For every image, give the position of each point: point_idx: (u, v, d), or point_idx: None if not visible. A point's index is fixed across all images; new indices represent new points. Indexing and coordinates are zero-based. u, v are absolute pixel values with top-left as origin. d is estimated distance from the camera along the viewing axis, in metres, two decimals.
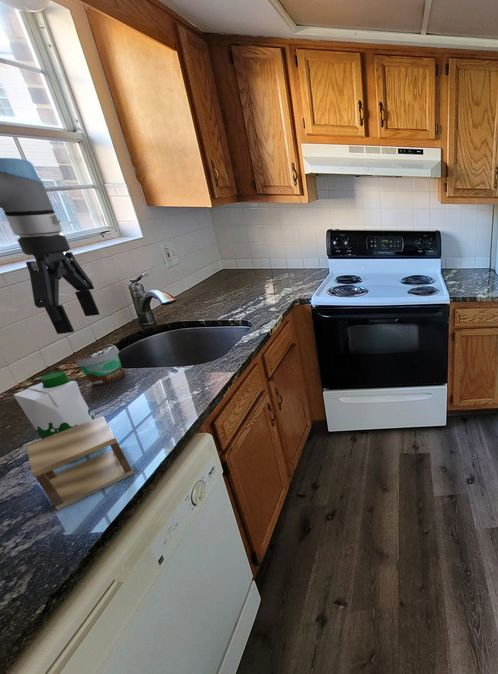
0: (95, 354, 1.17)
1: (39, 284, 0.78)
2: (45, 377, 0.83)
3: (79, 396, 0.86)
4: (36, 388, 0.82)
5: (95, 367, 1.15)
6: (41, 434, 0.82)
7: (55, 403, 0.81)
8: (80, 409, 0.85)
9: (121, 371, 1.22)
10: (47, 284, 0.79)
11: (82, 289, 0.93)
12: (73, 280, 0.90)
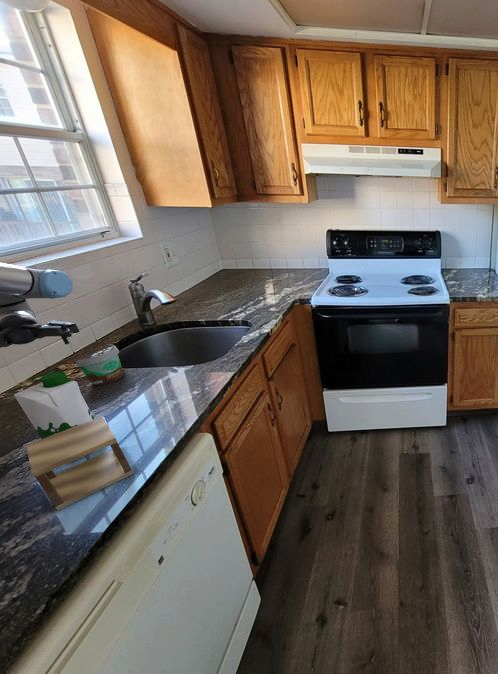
0: (95, 354, 1.17)
1: None
2: (45, 377, 0.83)
3: (79, 396, 0.86)
4: (36, 388, 0.82)
5: (95, 367, 1.15)
6: (41, 434, 0.82)
7: (56, 403, 0.81)
8: (80, 409, 0.85)
9: (121, 371, 1.22)
10: None
11: None
12: None
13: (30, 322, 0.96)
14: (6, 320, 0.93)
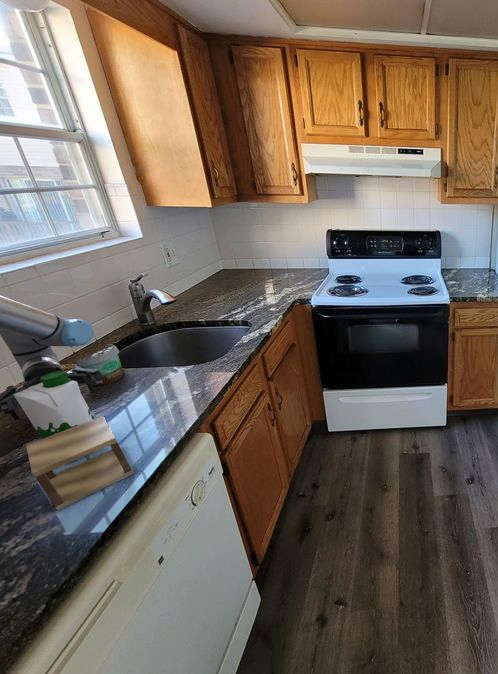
0: (95, 354, 1.17)
1: None
2: (45, 377, 0.83)
3: (79, 396, 0.86)
4: (36, 388, 0.82)
5: (95, 367, 1.15)
6: (41, 434, 0.82)
7: (56, 403, 0.81)
8: (80, 408, 0.86)
9: (121, 371, 1.22)
10: None
11: None
12: None
13: (55, 369, 1.01)
14: (34, 369, 0.97)
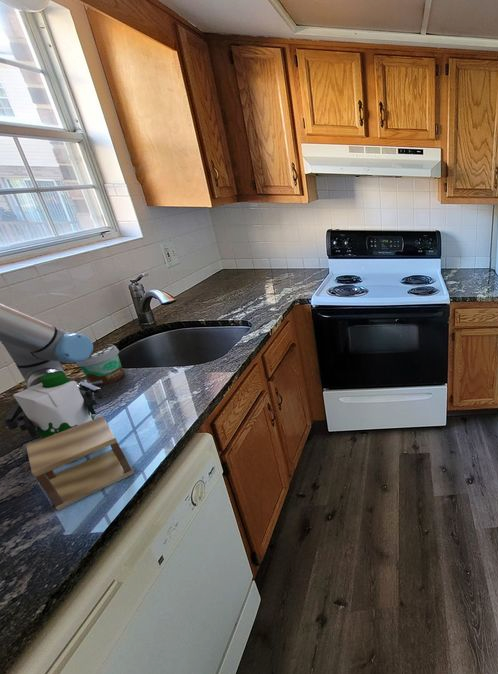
0: (95, 354, 1.17)
1: None
2: (45, 377, 0.82)
3: (79, 396, 0.86)
4: (35, 388, 0.82)
5: (95, 367, 1.15)
6: (41, 434, 0.82)
7: (55, 403, 0.81)
8: (80, 409, 0.85)
9: (121, 371, 1.22)
10: None
11: None
12: None
13: None
14: (39, 382, 0.91)
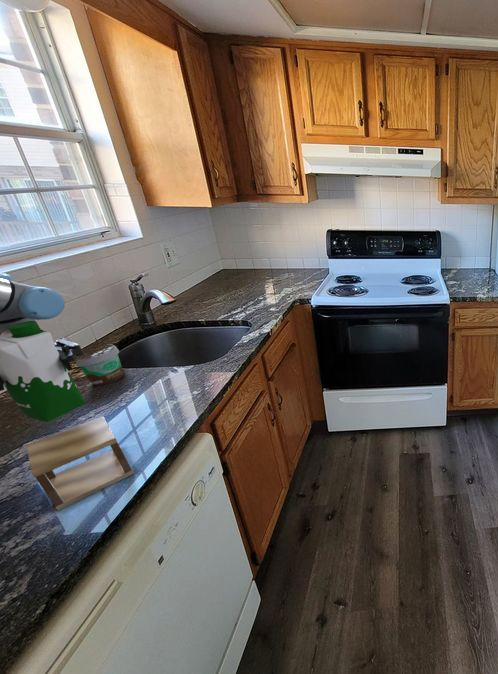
0: (95, 354, 1.17)
1: None
2: (14, 326, 0.74)
3: (53, 349, 0.77)
4: (3, 338, 0.73)
5: (95, 367, 1.15)
6: (10, 390, 0.74)
7: (25, 354, 0.72)
8: (55, 363, 0.77)
9: (121, 371, 1.22)
10: None
11: None
12: None
13: None
14: None
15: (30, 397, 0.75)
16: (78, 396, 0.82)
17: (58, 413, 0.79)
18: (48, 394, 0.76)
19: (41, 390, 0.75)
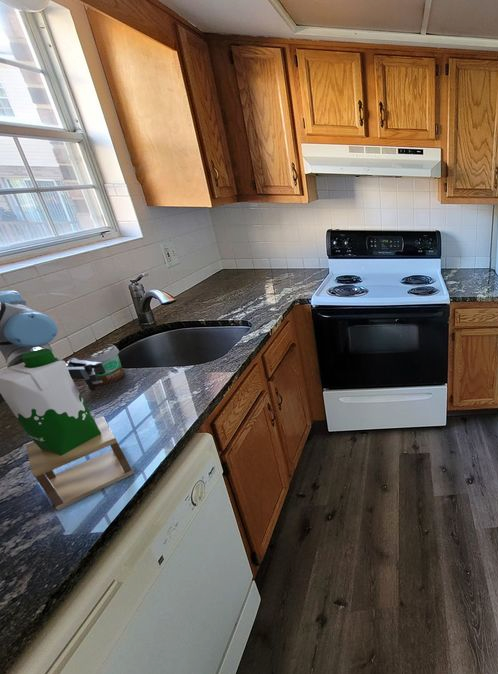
0: (95, 354, 1.17)
1: None
2: (27, 355, 0.70)
3: (68, 378, 0.73)
4: (16, 368, 0.69)
5: None
6: (23, 423, 0.70)
7: (39, 386, 0.68)
8: (70, 393, 0.73)
9: (121, 371, 1.22)
10: None
11: None
12: None
13: None
14: (20, 360, 0.78)
15: (43, 430, 0.71)
16: (93, 426, 0.77)
17: (73, 445, 0.75)
18: (63, 426, 0.72)
19: (55, 423, 0.71)
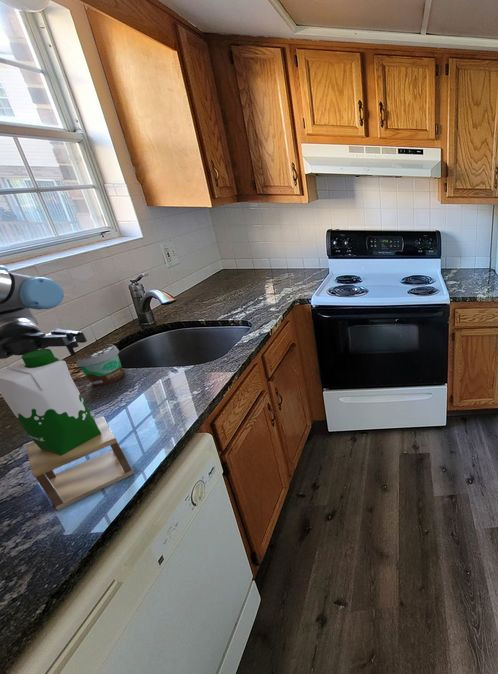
0: (95, 354, 1.17)
1: None
2: (28, 355, 0.70)
3: (68, 378, 0.73)
4: (16, 368, 0.69)
5: (95, 367, 1.15)
6: (23, 423, 0.70)
7: (40, 386, 0.68)
8: (70, 393, 0.73)
9: (121, 371, 1.22)
10: None
11: None
12: None
13: (32, 330, 0.87)
14: (6, 328, 0.83)
15: (43, 430, 0.71)
16: (93, 426, 0.77)
17: (73, 445, 0.75)
18: (63, 426, 0.72)
19: (55, 423, 0.71)
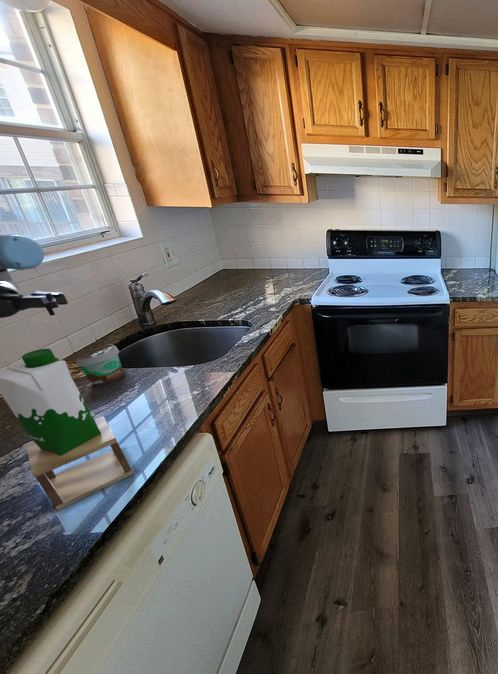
0: (95, 354, 1.17)
1: None
2: (28, 355, 0.70)
3: (68, 378, 0.73)
4: (16, 368, 0.69)
5: (95, 367, 1.15)
6: (23, 423, 0.70)
7: (40, 386, 0.68)
8: (70, 393, 0.73)
9: (121, 371, 1.22)
10: None
11: None
12: None
13: (10, 292, 0.83)
14: None
15: (44, 430, 0.71)
16: (93, 426, 0.77)
17: (73, 445, 0.75)
18: (63, 426, 0.72)
19: (55, 423, 0.71)
